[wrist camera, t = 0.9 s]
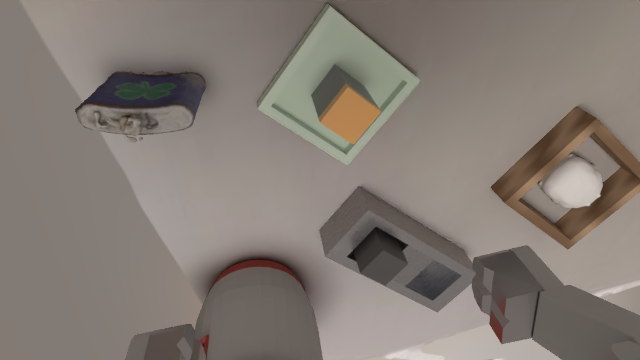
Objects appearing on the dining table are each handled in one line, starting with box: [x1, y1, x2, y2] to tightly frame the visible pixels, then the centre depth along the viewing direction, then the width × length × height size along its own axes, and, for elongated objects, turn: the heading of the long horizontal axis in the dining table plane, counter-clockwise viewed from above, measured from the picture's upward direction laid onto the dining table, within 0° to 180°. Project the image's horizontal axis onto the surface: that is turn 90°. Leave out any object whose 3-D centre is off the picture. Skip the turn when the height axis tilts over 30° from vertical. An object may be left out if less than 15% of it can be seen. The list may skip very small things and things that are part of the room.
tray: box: [257, 3, 421, 166], centre depth 43 cm, size 12×12×2 cm
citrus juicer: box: [194, 260, 323, 360], centre depth 48 cm, size 16×17×20 cm
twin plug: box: [353, 227, 408, 285], centre depth 50 cm, size 4×4×7 cm
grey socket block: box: [320, 186, 476, 312], centre depth 54 cm, size 8×20×5 cm, turn 53°
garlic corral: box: [491, 107, 640, 249], centre depth 52 cm, size 13×14×4 cm
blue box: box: [75, 71, 205, 142], centre depth 36 cm, size 9×3×11 cm, turn 87°
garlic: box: [539, 154, 603, 208], centre depth 52 cm, size 8×7×4 cm
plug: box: [311, 64, 381, 145], centre depth 40 cm, size 4×4×7 cm
